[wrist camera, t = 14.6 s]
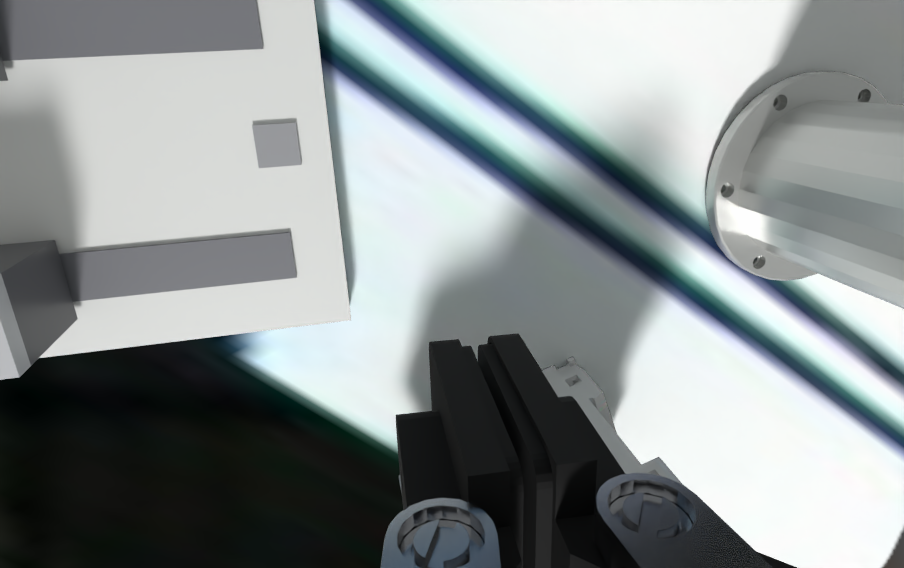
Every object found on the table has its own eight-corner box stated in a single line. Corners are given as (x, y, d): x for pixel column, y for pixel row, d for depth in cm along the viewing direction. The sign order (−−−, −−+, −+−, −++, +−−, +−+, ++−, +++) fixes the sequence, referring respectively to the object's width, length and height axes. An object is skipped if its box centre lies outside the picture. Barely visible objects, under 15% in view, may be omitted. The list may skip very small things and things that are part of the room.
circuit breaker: (367, 448, 38) (390, 668, 24) (572, 356, 38) (711, 518, 25) (412, 532, 41) (456, 772, 27) (602, 445, 41) (743, 634, 27)
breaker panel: (302, -98, 27) (300, -111, 25) (349, 306, 34) (351, 321, 32) (-205, -95, 24) (-254, -110, 22) (-41, 352, 31) (-66, 372, 29)
